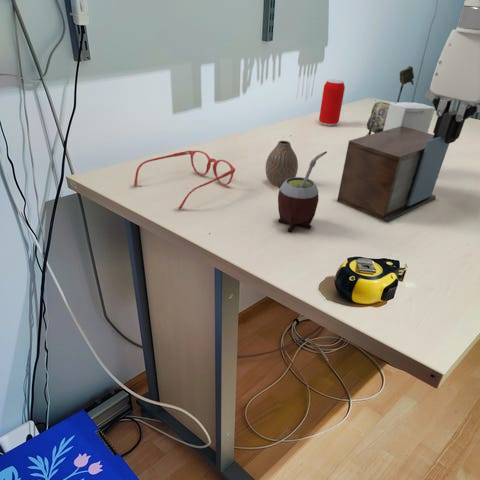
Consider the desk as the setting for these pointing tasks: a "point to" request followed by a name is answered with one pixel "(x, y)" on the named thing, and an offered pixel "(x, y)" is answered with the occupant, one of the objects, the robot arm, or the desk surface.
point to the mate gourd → (298, 200)
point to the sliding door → (431, 162)
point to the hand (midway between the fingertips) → (444, 139)
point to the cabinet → (383, 172)
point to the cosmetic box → (409, 116)
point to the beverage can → (331, 102)
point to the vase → (281, 164)
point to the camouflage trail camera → (387, 104)
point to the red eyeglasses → (195, 170)
